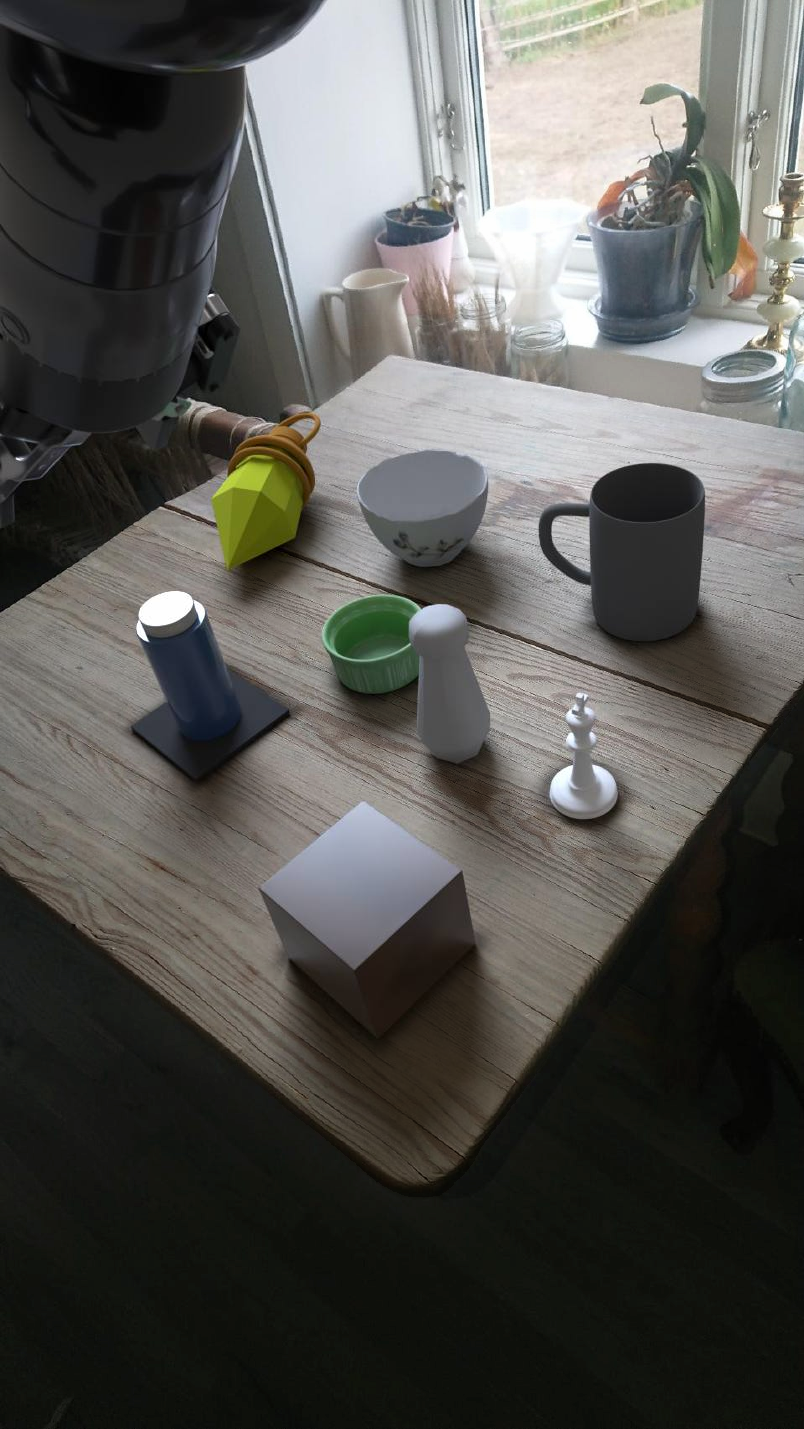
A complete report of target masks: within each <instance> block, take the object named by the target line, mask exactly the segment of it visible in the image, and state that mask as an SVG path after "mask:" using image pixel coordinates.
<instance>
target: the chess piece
mask: <svg viewBox="0 0 804 1429" xmlns="http://www.w3.org/2000/svg"><path fill="white" fill-rule="evenodd" d="M574 698H575V704H574V705H573V707H571V709H569V710H568V711H567V713H566V714H565V721H566V724H567V726H568V727H569V729H570V731H571V732H570V733H568V735H567V737H566V739H565V744H566V746H567V748H568V749H569V750H570V751H571V752H573V760H572V765H569V766H566V767H564V768H562V769H561V770H560V771H559V772H557V773H556V774H555V775H554V777H553V778H552V780H551V783H550V789H549V798H550V801H551V805H552V806H553V807H554V808H555V809H556V810H557V811H558V812H559V813H561V814H562V815H564V816H566V817H569V818H572V819H577V820H589V819H595V818H599V817H601V816H604V815H606V813H608V812H609V811H611V809H613V807H614V806H615V804H616V803H617V800H618V796H619V792H618V787H617V782H616V780H615V778H614V776H613V775H612V774H611V773H610V771H608V770H606V769H605V768H604V767H601V766H599V765H596V764H593V763H592V758H591V752H592V751H593V750H594V749H596V747H597V744H598V738H597V736H596V734H595V733H594V732H592V729H593V727H594V726H595V723H596V719H597V718H596V717H597V716H596V713H595V712H594V710H593V709H591V708H589V707H587V706H586V704H587V703H588V701H589V694H586V693H583V692H577V693H576V695H575V697H574Z"/></svg>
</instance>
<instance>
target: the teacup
mask: <svg viewBox="0 0 804 1429" xmlns="http://www.w3.org/2000/svg"><path fill="white" fill-rule="evenodd" d="M488 495H489V475H488V472H487V468H486V467H485V466H484V465H483V463H482V462H481V461H480V460H478V459H476V458H474V457H473V456H471V455H469V454H467V453H464V454H458V453H457V452H456V451H453V450H448V449H440V448H438V449H436V448H429V449H422V450H418V451H414V452H407V453H404V454H400V455H398V456H394V457H387V458H386V459H383V460H382V461H380V462H379V463H378V464H377V465H374V466H371V467H370V468H369V469H368V470H367V471H366V472H365V473H364V474H363V476H362V477H361V478H360V480H359V481H358V484H357V487H356V497H357V501H358V504H359V507H360V509H361V512H362V515H363V517H364V520H365V521H366V522H365V523H367V525H368V527H369V529H370V531H371V532H372V534H373V535H374V537H375V538H376V539H377V541H378V542H380V544H381V545H382V546H383V547H384V548H385V549H387V550H388V551H389V552H390V553H391V554H392V555H395V556H396V557H397V558H400V559H401V560H404V561H405V562H406V563H407V564H410V565H413V566H416V567H420V568H422V567H423V568H427V567H441V566H443V565H445V564H448V563H451V561H453V560H454V559H455V558H456V557H457V556H458V555H459V554H460V553H461V551H462V550H463V549H464V548H465V547H466V546H467V545H468V544H470V542H471V540H472V539H473V538H474V536H475V535H476V533H477V531H478V530H479V528H480V525H481V523H482V521H483V518H484V515H485V511H486V507H487V502H488Z"/></svg>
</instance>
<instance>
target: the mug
mask: <svg viewBox="0 0 804 1429" xmlns="http://www.w3.org/2000/svg"><path fill="white" fill-rule="evenodd" d="M563 516H564V517H582V518H583V517H584V518H588V519H589V520H588V522H589V526H588V528H589V529H588V530H589V532H588V535H589V569H590V570H589V571H586V570H583V569H581V568H580V567H578V566H576V565H575V564H573V563H572V562H571V561H569V560H568V559H567V558H566V557H565V556H564V555H563V554H562V553H561V552H560V551H559V550H558V549H557V548H556V546H555V544H554V541H553V524H554V523H553V522H554V520H555V519H556V518H557V517H563ZM705 517H706V490H705V486H704V484H703V482H702V480H701V479H700V478H699V476H697V474H694V473H693V472H691V471H690V470H688V469H687V468H683V467H681V466H678V465H673V464H669V463H662V462H643V463H634V464H629V465H624V466H621V467H618V468H616V469H614V470H611V471H609V472H607V473H606V474H604V475H602V476H601V477H600V478H599V479H598V480H597V481H596V482H595V483H594V484H593V486H592V488H591V491H590V495H589V503H579V502H578V503H577V502H576V503H575V502H573V503H572V502H565V503H564V502H563V503H555V504H551V505H549V506H547V507H546V508H545V509H544V510H543V511H542V513H541V515H540V517H539V520H538V540H539V547H540V550H541V551H542V554H543V555H544V557H545V558H546V559H547V561H549V563H550V564H551V565H552V566H554V568H556V569H557V570H558V571H559V572H561V573H562V574H563V575H565V576H566V577H567V578H569V579H571V580H573V581H575V582H576V583H579V584H581V585H586V586H590V594H591V607H592V612H593V617H594V619H595V620H596V622H597V624H598V625H599V626H600V627H601V628H602V629H603V630H604V631H606V632H607V633H608V634H610V635H612V636H614V637H617V638H620V639H622V640H627V641H633V642H654V641H656V642H657V641H661V640H665V639H668V638H671V637H674V636H676V635H678V634H680V633H681V632H683V631H684V630H685V629H687V627H689V625H691V623H692V622H693V620H694V619H695V617H696V614H697V610H698V605H699V597H700V588H701V576H702V565H703V564H702V563H703V552H704V551H703V550H704V539H705V538H704V536H705V535H704V534H705Z"/></svg>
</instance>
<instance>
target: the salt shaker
mask: <svg viewBox="0 0 804 1429" xmlns="http://www.w3.org/2000/svg"><path fill="white" fill-rule="evenodd" d="M409 640H410V644H411V645H412V647H413V648H414V650H415V651H416V653H417V654H418V655H420V656H419V675H418V683H417V684H418V686H417V688H418V689H417V692H418V693H417V716H416V733H417V735H418V737H419V738H420V740H421V741H422V743H423V744H424V746H425V747H426V748H427V749H428V751H430V752H431V754H432V755H433V756H434V757H435V758H436V759H438V760H443V761H446V762H450V763H452V764H453V763H454V764H461V763H462V762H464V761H466V760H469V759H472V758H473V757H476V756H478V755H479V753H480V750H481V749H482V746H483V744H484V742H485V739H486V738H487V736H488V734H489V732H490V731H491V712H490V709H489V707H488V704H487V702H486V699H485V696H484V693H483V690H482V688H481V687H480V683H479V681H478V678H477V676H476V673H475V671H474V668H473V665H472V663H471V660H470V658H469V655H468V653H467V649H466V645H467V643H468V641H469V622H468V620H467V616H466V615H465V614H464V612H462V610H461V609H460V608H457V607H455V606H452V605H449V604H444V603H443V604H442V603H441V604H440V603H436V604H431V605H427V606H425V607H423V608H421V610H420V611H418V612H417V613H416V614H415V615H414V616H413V617H412V619H411V620H410V621H409Z"/></svg>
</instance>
